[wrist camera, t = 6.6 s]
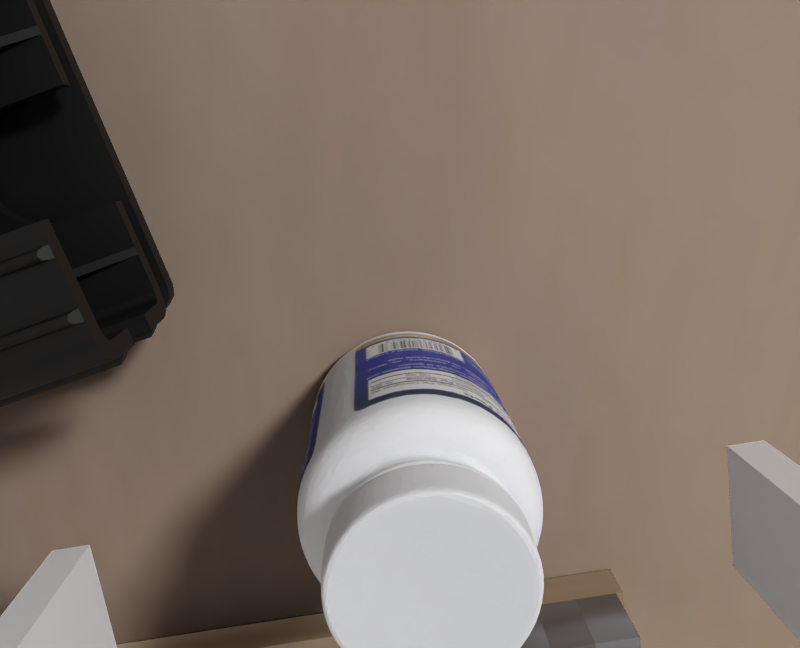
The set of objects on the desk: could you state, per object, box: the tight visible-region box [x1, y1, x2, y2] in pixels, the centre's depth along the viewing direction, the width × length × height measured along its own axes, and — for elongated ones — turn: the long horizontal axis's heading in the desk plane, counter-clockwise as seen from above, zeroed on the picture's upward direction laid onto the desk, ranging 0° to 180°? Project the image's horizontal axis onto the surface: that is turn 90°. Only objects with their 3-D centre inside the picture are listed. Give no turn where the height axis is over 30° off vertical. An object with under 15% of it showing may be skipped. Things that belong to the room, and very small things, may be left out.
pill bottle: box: [297, 331, 544, 648], centre depth 17 cm, size 5×5×9 cm
